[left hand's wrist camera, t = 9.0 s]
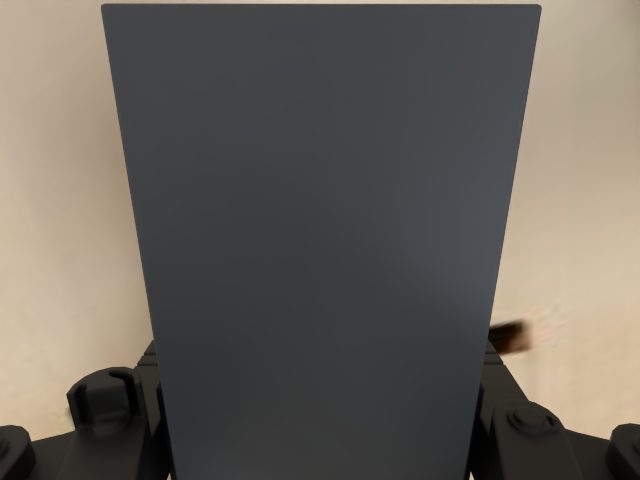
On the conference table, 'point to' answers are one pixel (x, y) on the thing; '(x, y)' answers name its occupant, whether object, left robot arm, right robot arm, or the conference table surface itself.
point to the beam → (320, 225)
